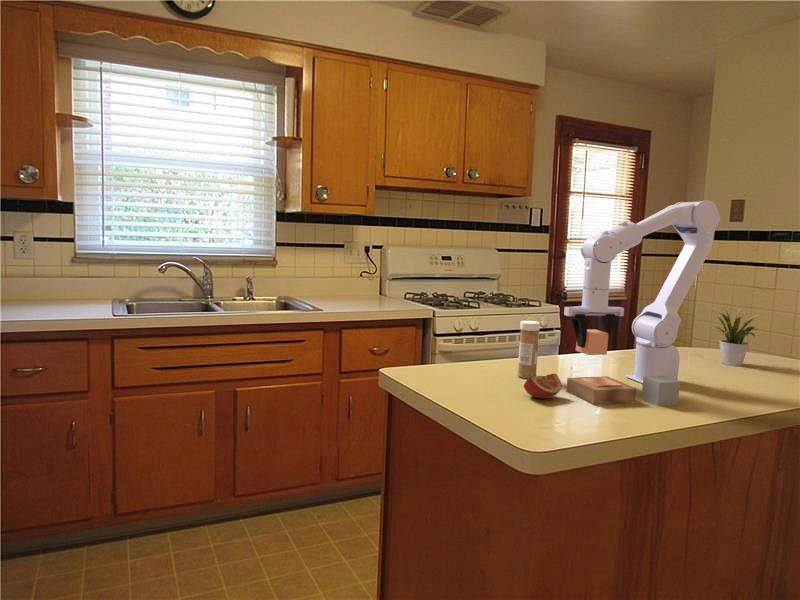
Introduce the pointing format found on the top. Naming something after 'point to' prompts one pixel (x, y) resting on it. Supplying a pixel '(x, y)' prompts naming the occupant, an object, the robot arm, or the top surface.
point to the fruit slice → (543, 386)
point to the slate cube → (660, 390)
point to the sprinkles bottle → (528, 349)
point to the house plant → (734, 340)
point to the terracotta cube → (594, 343)
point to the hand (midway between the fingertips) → (591, 346)
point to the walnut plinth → (601, 390)
